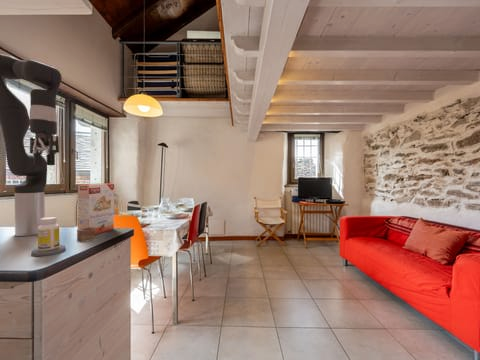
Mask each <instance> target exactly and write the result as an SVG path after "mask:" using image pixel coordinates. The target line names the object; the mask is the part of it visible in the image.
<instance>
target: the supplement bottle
mask: <svg viewBox="0 0 480 360" xmlns="http://www.w3.org/2000/svg"><path fill="white" fill-rule="evenodd" d="M40 223H41V226H39V227H38V234H37V248H38V250H40V251H47V250H52V249H56V248H58V247H59V245H61V244H60V225H59V224H58V223H57V217H54V216H52V217H51V216H50V217H48V216H47V217H45V218H42V219H40Z"/></svg>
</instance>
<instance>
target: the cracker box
mask: <svg viewBox="0 0 480 360" xmlns="http://www.w3.org/2000/svg"><path fill="white" fill-rule="evenodd" d="M114 223H115V184H114V183H89V184H88V183H86V184H85V183H84V184H77V230H80V229H85V228H92V229H94V236H95V235H98V234H100V233H101V234H102V233H105V232H108V231H112V230H114V227H115V226H114V225H115V224H114Z"/></svg>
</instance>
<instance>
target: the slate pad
mask: <svg viewBox="0 0 480 360" xmlns="http://www.w3.org/2000/svg"><path fill="white" fill-rule="evenodd" d="M65 251H66V245H64V244H60V245H59V247H58V248H56V249H52V250H47V251H40V250H38V247H37V248H33V249H32V250H31V252H30V254H31V255H30V256H32V257H37V258H38V257H47V256H53V255H57V254H60V253H63V252H65Z"/></svg>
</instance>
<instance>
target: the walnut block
mask: <svg viewBox="0 0 480 360" xmlns="http://www.w3.org/2000/svg"><path fill="white" fill-rule="evenodd" d="M76 240H77V241H78V240H79V242H82V243H85V242H87V241H92V240H95V235H94V229H92V228H85V229H80V230H78V229H77V230H76Z"/></svg>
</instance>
